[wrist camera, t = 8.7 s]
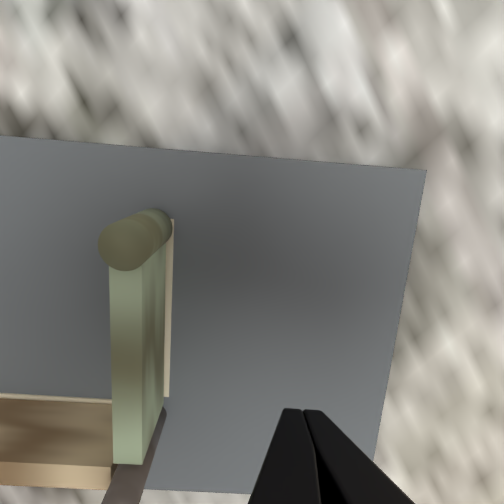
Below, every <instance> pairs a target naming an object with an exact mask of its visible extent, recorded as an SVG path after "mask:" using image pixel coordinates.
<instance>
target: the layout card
mask: <svg viewBox="0 0 504 504" xmlns="http://www.w3.org/2000/svg"><path fill="white" fill-rule="evenodd" d="M426 172H427V170H418V169H406V168H393V167H381V166H369V165H357V164H344V163H332V162H320V161H307V160H295V159H283V158H271V157H258V156H246V155H234V154H221V153H209V152H197V151H185V150H172V149H160V148H148V147H136V146H123V145H111V144H99V143H86V142H74V141H62V140H50V139H37V138H25V137H13V136H0V399H17V400H35V401H53V402H70V403H88V404H106V405H112V382H111V337H110V292H109V265H107V264H106V263H105V262H104V261H103V259H102V258H101V256H100V253H99V250H98V239H99V236H100V234H101V232H102V230H103V229H104V228H105V227H107V226H108V225H110V224H112V223H114V222H117V221H119V220H121V219H124V218H126V217H129V216H131V215H133V214H136V213H138V212H140V211H143V210H145V209H149V208H155V209H159V210H161V211H163V212H164V213H166V214H167V215H168V217H169V218H170V220H171V222H172V227H173V230H172V234H171V237H170V238H169V240H168V241H167V242H166V271H165V337H164V403H163V407H164V409H165V410H166V413H167V417H166V420H165V423H164V426H163V430H162V433H161V436H160V439H159V442H158V445H157V449H156V452H155V455H154V458H153V461H152V464H151V467H150V471H149V474H148V477H147V480H146V483H145V486H144V489H154V490H174V491H195V492H215V493H236V494H252V491H253V488H254V486H255V483H256V480H257V478H258V475H259V472H260V470H261V467H262V464H263V461H264V459H265V456H266V453H267V451H268V448H269V445H270V443H271V440H272V437H273V435H274V432H275V429H276V426H277V424H278V421H279V418H280V416H281V413H282V410H283V409H284V408H295V409H301V410H302V411H303V410H304V409H312V410H321V411H322V412H324V413H325V414H326V415H327V416H328V417H329V418H330V419H331V420H332V421H333V422H334V423H335V424H336V425H337V426H338V427H339V428H340V429H341V430H342V431H343V432H344V433H345V434H346V435H347V436H348V437H349V438H350V439H351V440H352V441H353V442H354V443H355V444H356V445H357V446H358V447H359V448H360V449H361V450H362V451H363V452H364V453H365V454H366V455H367V456H368V457H369V458H370V459H371V460H372V461H373V459H374V453H375V448H376V442H377V437H378V432H379V426H380V421H381V415H382V410H383V405H384V399H385V394H386V388H387V383H388V378H389V372H390V367H391V361H392V356H393V351H394V345H395V340H396V334H397V329H398V324H399V318H400V313H401V307H402V302H403V297H404V291H405V286H406V280H407V275H408V270H409V264H410V259H411V253H412V248H413V243H414V237H415V232H416V226H417V221H418V216H419V210H420V205H421V199H422V194H423V189H424V183H425V178H426Z"/></svg>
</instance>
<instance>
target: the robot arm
mask: <svg viewBox="0 0 504 504" xmlns="http://www.w3.org/2000/svg"><path fill="white" fill-rule="evenodd" d="M248 504H415V503H414V502H413V501H412V500H411V499H410V498H409V497H408V496H407V495H406V494H405V493H404V492H403V491H402V490H401V489H400V488H399V487H398V486H397V485H396V484H395V483H394V482H393V481H392V480H391V479H390V478H389V477H388V476H387V475H386V474H385V473H384V472H383V471H382V470H381V469H380V468H379V467H378V466H377V465H376V464H375V463H374V462H373V461H372V460H371V459H370V458H369V457H368V456H367V455H366V454H365V453H364V452H363V451H362V450H361V449H360V448H359V447H358V446H357V445H356V444H355V443H354V442H353V441H352V440H351V439H350V438H349V437H348V436H347V435H346V434H345V433H344V432H343V431H342V430H341V429H340V428H339V427H338V426H337V425H336V424H335V423H334V422H333V421H332V420H331V419H330V418H329V417H328V416H327V415H326V414H325V413H324V412H322V411H321V410H312V409H304V410H303V411H302V410H301V409H295V408H284V409H283V410H282V413H281V416H280V418H279V421H278V424H277V426H276V429H275V432H274V435H273V437H272V440H271V443H270V445H269V448H268V451H267V453H266V456H265V459H264V461H263V464H262V467H261V470H260V472H259V475H258V478H257V480H256V483H255V486H254V488H253V491H252V494H251V496H250V499H249V502H248Z"/></svg>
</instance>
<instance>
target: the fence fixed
mask: <svg viewBox="0 0 504 504" xmlns="http://www.w3.org/2000/svg"><path fill="white" fill-rule="evenodd" d="M166 417H167V413H166V410H165V409H164V407H163V406H162V409H161V412H160V415H159V418H158V421H157V424H156V427H155V429H154V432H153V435H152V438H151V441H150V444H149V447H148V450H147V452H146V455H145V458H144V461H143V464H142V465H136V464H113V427H112V405H106V404H88V403H70V402H53V401H35V400H17V399H0V485H12V486H33V487H54V488H74V489H95V490H107V492H106V494H105V497H104V499H103V501H102V504H139V502H140V499H141V496H142V493H143V489H144V486H145V483H146V480H147V477H148V474H149V471H150V467H151V464H152V461H153V458H154V455H155V452H156V449H157V445H158V442H159V439H160V436H161V433H162V430H163V426H164V423H165V420H166Z"/></svg>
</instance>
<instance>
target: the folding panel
mask: <svg viewBox="0 0 504 504" xmlns="http://www.w3.org/2000/svg"><path fill="white" fill-rule="evenodd" d="M172 230H173V227H172V222H171V220H170V218H169V217H168V215H167V214H166V213H164V212H163V211H161V210H159V209H155V208H149V209H145V210H143V211H140V212H138V213H136V214H133V215H131V216H129V217H126V218H124V219H121V220H119V221H117V222H114V223H112V224H110V225H108V226H107V227H105V228H104V229H103V230H102V232H101V234H100V236H99V239H98V250H99V253H100V256H101V258H102V259H103V261H104V262H105V263H106V264H107V265H109V292H110V337H111V382H112V427H113V464H136V465H142V464H143V461H144V458H145V455H146V452H147V450H148V447H149V444H150V441H151V438H152V435H153V432H154V429H155V427H156V424H157V421H158V418H159V415H160V412H161V409H162V406H163V403H164V337H165V271H166V242H167V241H168V240H169V238H170V237H171V234H172Z"/></svg>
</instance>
